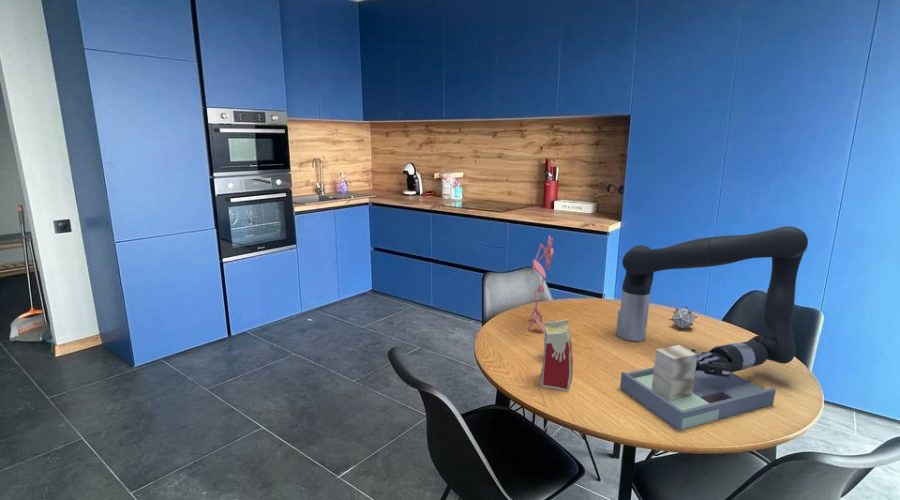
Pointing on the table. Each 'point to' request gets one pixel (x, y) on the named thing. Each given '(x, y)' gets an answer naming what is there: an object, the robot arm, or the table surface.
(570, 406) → the table surface
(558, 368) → the milk carton
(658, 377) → the off-white block
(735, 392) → the box
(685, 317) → the game die
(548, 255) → the figurine
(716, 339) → the table surface
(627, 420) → the table surface
